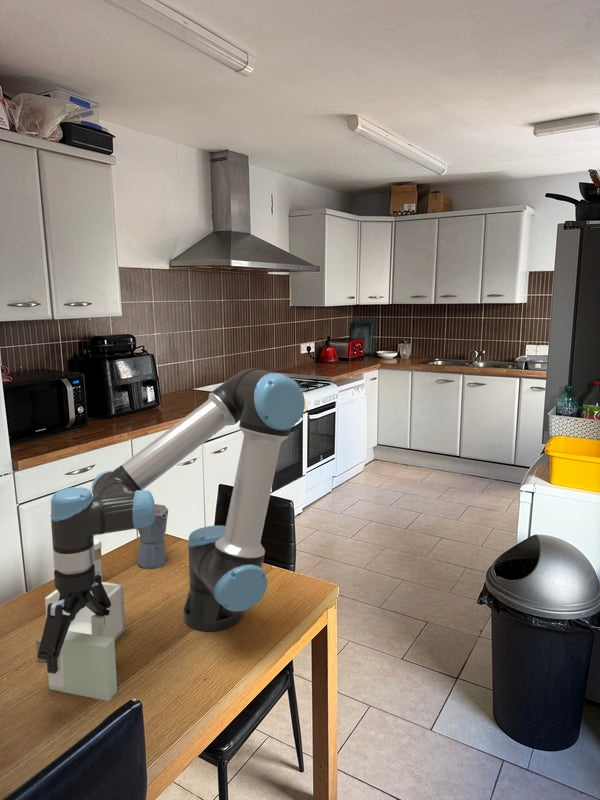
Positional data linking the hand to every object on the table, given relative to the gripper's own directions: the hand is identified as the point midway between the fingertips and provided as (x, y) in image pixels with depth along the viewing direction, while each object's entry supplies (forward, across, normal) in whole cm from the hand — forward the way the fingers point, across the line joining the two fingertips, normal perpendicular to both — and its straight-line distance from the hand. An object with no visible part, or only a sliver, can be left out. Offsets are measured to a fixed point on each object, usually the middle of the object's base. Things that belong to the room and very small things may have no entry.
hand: (78, 663), depth 114 cm
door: (+6, 0, 0) cm, 6 cm away
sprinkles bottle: (+6, -38, -23) cm, 45 cm away
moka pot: (+6, -55, -15) cm, 58 cm away
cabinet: (+6, -14, -10) cm, 18 cm away
